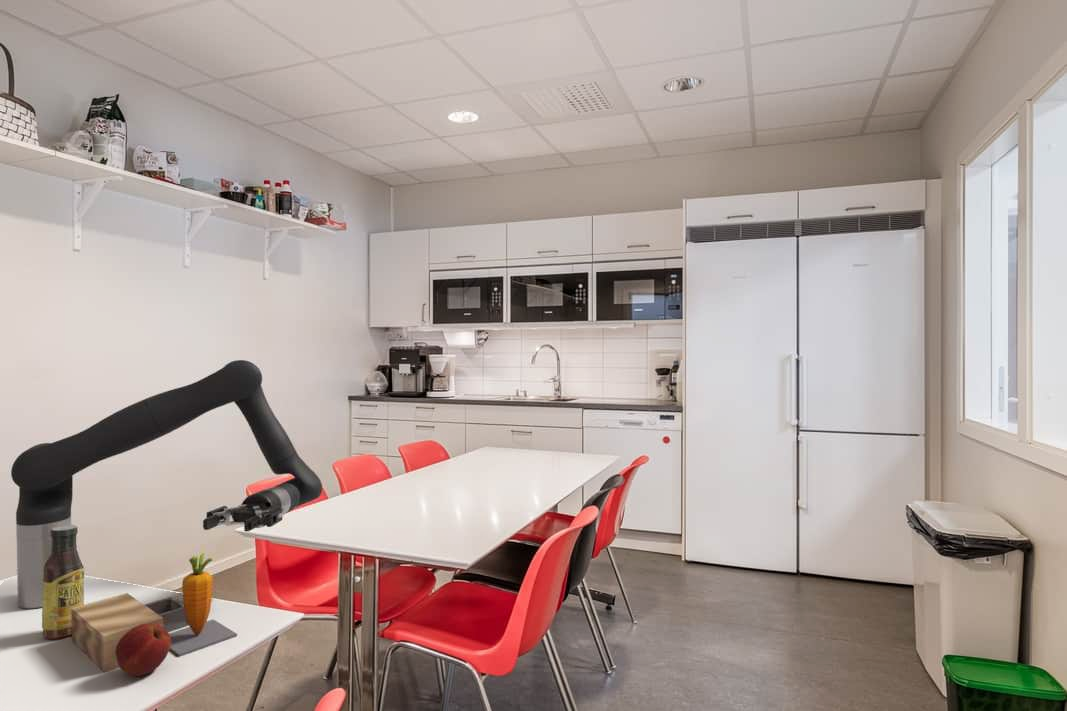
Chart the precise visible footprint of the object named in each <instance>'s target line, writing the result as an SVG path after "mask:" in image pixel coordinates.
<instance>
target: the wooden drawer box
mask: <svg viewBox="0 0 1067 711" xmlns="http://www.w3.org/2000/svg"><path fill="white" fill-rule="evenodd" d="M71 621H72V635H71V642H73V644H75V646H77V648H79V650H81V651H82V652H83V653H84V654H85V655H86V656H87V657H88V658H89V660H91V661H92V662H93V664H95V665H96V666H97V667H98V668H99V669H100V670H101V671H102V672H103V673H106V672H109V671H113V670H115V669H119V668H120V667H119V665H118V662H117V659H116V654H115V652H116V646H117V644H118V642H119V641H120V639H121V638H122V637H123V636H124V635H125V634H126V633H127V632H128V631H130V630H131V629H133V628H134V627H136V626H138V625H141V624H144V623H152V624H157V625H160V626H161V627H163V628H164V629H166V631H167V632H168V633H169V632H172V631H175V630H178V629H181V628H185V627H187V626H188V627H189V624H188V622H187V619H186V615H185V610H184V605H183V600H180V599H178V598H177V597H175V596H169V597H166V598H163V599H159V600H156V601H152V602H148V603H146V604H144V603H142V602H141V601H139V600H138V599H137V598H135V597H133V595H131V594H129V593H128V592H125V593H122V594H119V595H115V596H111V597H108V598H104V599H100V600H97V601H93V602H89V603H86V604H84V605H81V606H77V607H73V608H71Z"/></svg>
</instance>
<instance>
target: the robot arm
mask: <svg viewBox="0 0 1067 711" xmlns="http://www.w3.org/2000/svg"><path fill="white" fill-rule="evenodd" d="M262 383H263V375H262V371H261V369H260V368H259V367H258V366H257V365H256V364H255V363H253V362H251V361H249V360H244V359H236V360H233V361H230V362H228V363H226V364H225V365H224V366H223V367H222V368H220V369H218V370H217V371H215V372H213V373H210V374H209V375H206V377H205V376H204V377H203V378H201V379H199V380H197V381H195V382H193V383H190V384H188V385H183V386H181V387H175V388H173V389H169V390H167V391H163V392H160V393H158V394H154V395H151V396H149V397H147V398H145V399H141V400H139V401H137V402H135V403H133V404H130V405H127V406H126V407H124V408H121V409H120V410H118V411H116V412H114V413H112V414H110V415H109V416H107V417H105V418H102V420H99V421H98V422H96V423H95V424H92V425H91V426H90V427H88V428H86V429H84V430H82V431H80V432H78V433H75V434H72V435H70V436H68V437H65V438H61V439H60V440H59V439H58V440H56V441H53V442H43V443H39V444H35V445H33V446H31V447H29V448H28V449H26V450H24V451H23V452H22V453H21V454H19V455H17V457H16V459H15V461H14V462H13V464H12V466H11V469H10V470H11V471H10V476H11V478H12V479H11V480H12V481H13V483H14V484H15V485H16V486H18V489H19V494H18V495H19V497H18V504H17V508H16V512H15V524H16V526H15V529H16V536H15V537H16V562H17V563H16V576H17V581H16V582H17V586H16V587H17V590H16V591H17V607H19V608H20V609H36V608H37V609H38V608H42V602H43V579H44V566H45V563H46V561H47V560H48V559H49V557H50V556H51V554H52V552H51V549H52V537H51V529H52V528H55V527H60V526H67V525H72V505H73V486H74V485H73V482H74V480H73V476H74V475H76V474H78V473H79V472H82V471H83V470H85V469H87V468H89V467H90V466H92V465H94V464H96V463H99V462H101V461H103V460H107V459H109V458H111V457H115V456H117V455H120V454H123V453H126V452H128V451H130V450H134V449H136V448H138V447H141V446H143V445H145V444H148V443H150V442H153V441H155V440H157V439H159V438H162V437H163V436H166V435H168V434H170V433H172V432H173V431H176V430H177V429H180V428H182V427H183V426H185V425H187V424H189V423H190V422H192V421H195V420H196V419H197V418H199V417H201V416H202V415H204V414H206V413H208V412H210V411H212V410H215V409H218V408H220V407H223V406H226V405H229V404H231V403H234V404H235V405H236V406H237V408H238V409H239V411H240V412H241V413H242V415H243V417H244V419H245V420H246V422H247V423H248V426H249V428H250V430H251V432H252V435H253V436H254V439H255V441H256V443H257V444H258V447H259V449H260V451H261V453H262V456H264V458H265V460H266V462H267V465H268V466H269V468H270V469H271V471H272V473H273V474H275V475H277V476H279V475H287V474H289V475H291V476H293V477H292V478H290V479H288V480H286V481H283V482H282V483H280V484H276V485H274V486H272V487H266V488H263V489H262V490H260V491H257V492H254V493H252V494H250V495H247V497H245V498H244V500H243V501H242V503H241V504H239V505H237V506H233V507H228V506H226V505H222V506H221V507H217V508H214V509H213V510H210V511H207V512H206V517H205V518H204V519H203V520H202V528H203V530H205V531H209V530H211V529H213V528H216V527H217V526H223V525H225V526H226V527H229V526H234V525H244V526H243V527H244V528H243V530H244V532H250V531H252V530H254V529H261V528H264V527H265V526H266V527H268V528H271V527H273V526H275V525H276V524H278V523H280V522H281V521H282V520H283V516H284V515H286V514H287V513H290V512H291V511H293V510H294V509H296V508H298V507H301V506H303V505H304V504H308V503H310V502H312V501H315V500H316V499H318V498H319V497H321V495H322V493H323V484H322V481H321V479H320V477H319V476H318V475H317V474H316V473H315V471H314V470H312V469H311V468H310V466H309V465H307V463H306V462H305V461H304V460H303V459H302V458H301V457H300V455H299V453H298V452H297V450H296V448H295V446H294V445H293V442H292V441H291V439H290V437H289V435H288V434H287V432H286V430H285V428H284V427H283V426H282V424H281V423H280V421H279V420H278V418H277V417H276V416H275V415H276V414H275V413H274V412H273V410H272V408H271V407H270V405H269V402H268V401H267V398H266V396H265V393H264V389H263V386H262ZM231 518H232V520H231ZM230 520H231V521H230Z"/></svg>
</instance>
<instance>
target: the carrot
mask: <svg viewBox="0 0 1067 711" xmlns="http://www.w3.org/2000/svg"><path fill="white" fill-rule="evenodd" d="M205 556H206V555H205V553H203V552H202V553H201V554H200V556H199V557H198V555H193V556H191V557H190V558H189V560H188V561H189V563H190V565H191V569H192V572H191V573H189V574H188V575H186V576H184V578H183V579H182V582H181V583H182V584H181V585H182V602H183V605H184V610H185V615H186V619H187V622H188V624H189V625H188V627H190V628H191V630H192V631H193V633H194V634H195V635H197V636H198V635H199V634H200V633H201V632H202V630H203V628H204V626H205V624H206V621H208V618H209V614H210V612H211V605H212V601H213V582H214V580H213V575H212V574H211V573H209V572H208V571H204V569H205V568H206V566H207V565H208V564H209V563H210V562H212V561H213V558H212V557H209V558H206V559H205ZM204 559H205V560H204ZM198 560H199V561H198Z"/></svg>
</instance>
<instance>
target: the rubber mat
mask: <svg viewBox="0 0 1067 711" xmlns="http://www.w3.org/2000/svg"><path fill="white" fill-rule="evenodd" d="M169 635H170V637H171V645H170V649H169V651H171V652H172V653H174V654H175V655H176V656H177V657H181V656H182V657H183V656H185V655H188V654H191V653H194V652H196V651H199V650H202V649H204V648H207V647H210V646H212V645H215V644H218V643H221V642H224V641H227V640H230V639H232V638H236V637H238V633H236V632H235V631H233V630H232V629H230V628H228V627H227V626H225V625H223V624H222V623H221V622H219V621H217V620H215V619H214V618H213V619H209V620H207V621H206V624H205V626H204V628H203V630H202V632H201V633H200V634H199V635H198V636H197V635H195V634H194V633H193V631H192V630H191V628H190V626H188V627H186V628H185V627H184V628H183V629H179V630H177V631H174V632H170V633H169Z"/></svg>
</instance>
